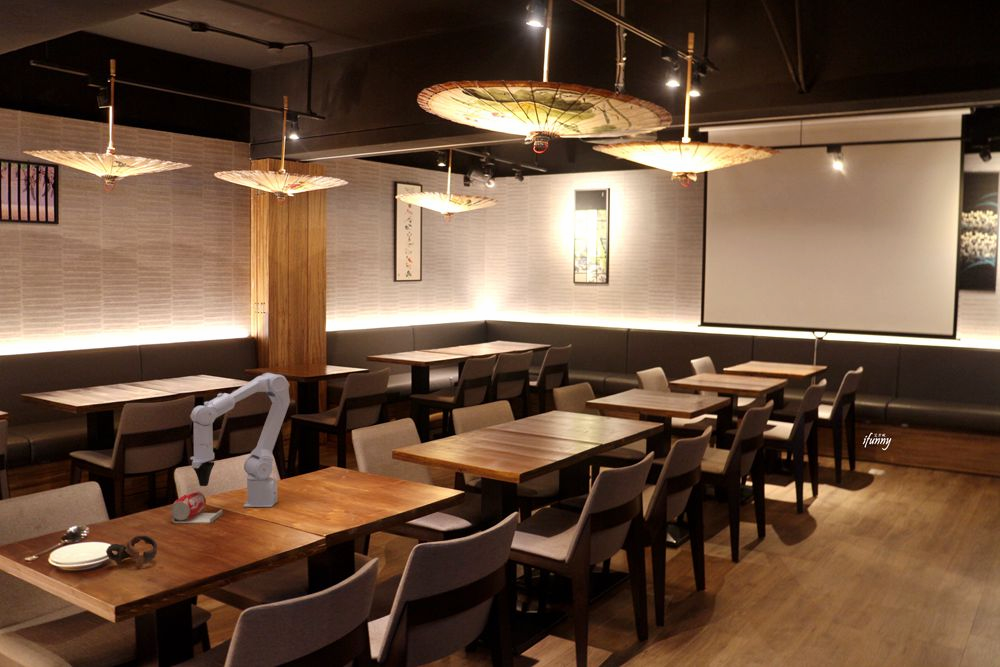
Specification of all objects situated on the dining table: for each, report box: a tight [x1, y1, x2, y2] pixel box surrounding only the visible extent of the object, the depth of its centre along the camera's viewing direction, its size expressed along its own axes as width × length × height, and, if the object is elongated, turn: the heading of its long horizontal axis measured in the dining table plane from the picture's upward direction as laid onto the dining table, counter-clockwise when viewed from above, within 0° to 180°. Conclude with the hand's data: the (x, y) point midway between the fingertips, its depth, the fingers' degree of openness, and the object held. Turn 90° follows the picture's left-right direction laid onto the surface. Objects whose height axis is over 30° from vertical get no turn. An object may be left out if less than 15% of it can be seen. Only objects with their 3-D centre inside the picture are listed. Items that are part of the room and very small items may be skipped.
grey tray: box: [171, 509, 223, 524], centre depth 252 cm, size 12×10×2 cm
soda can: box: [170, 490, 207, 520], centre depth 252 cm, size 7×7×12 cm
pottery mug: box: [105, 534, 158, 569], centre depth 209 cm, size 12×10×8 cm
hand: (203, 485), depth 257 cm, fingers closed
